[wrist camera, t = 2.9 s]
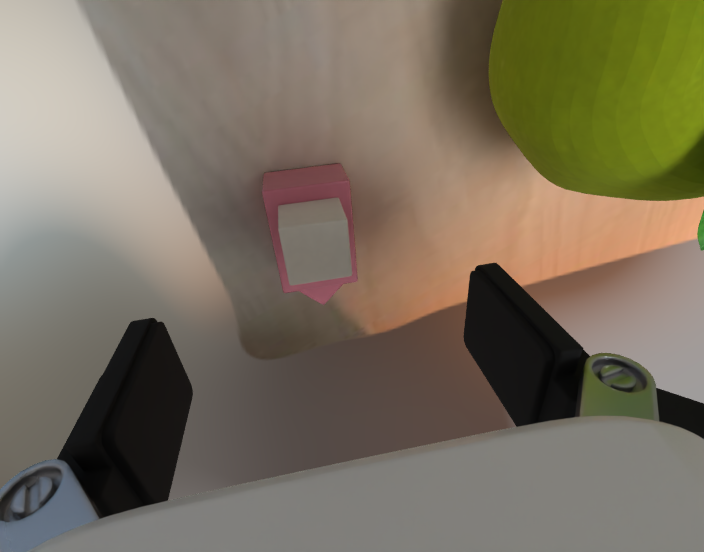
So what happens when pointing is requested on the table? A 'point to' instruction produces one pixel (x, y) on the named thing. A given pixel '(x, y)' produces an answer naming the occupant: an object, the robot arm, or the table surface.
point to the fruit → (605, 94)
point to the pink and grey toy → (311, 229)
